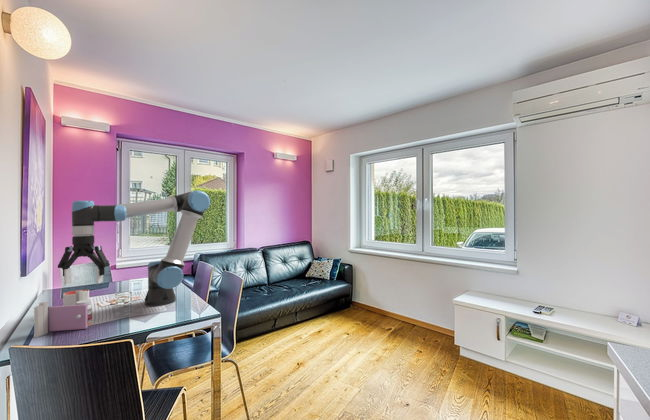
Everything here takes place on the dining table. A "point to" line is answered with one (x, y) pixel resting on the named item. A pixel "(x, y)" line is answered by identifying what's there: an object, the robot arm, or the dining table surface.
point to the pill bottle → (84, 302)
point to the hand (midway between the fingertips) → (83, 283)
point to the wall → (42, 314)
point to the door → (67, 317)
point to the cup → (71, 298)
